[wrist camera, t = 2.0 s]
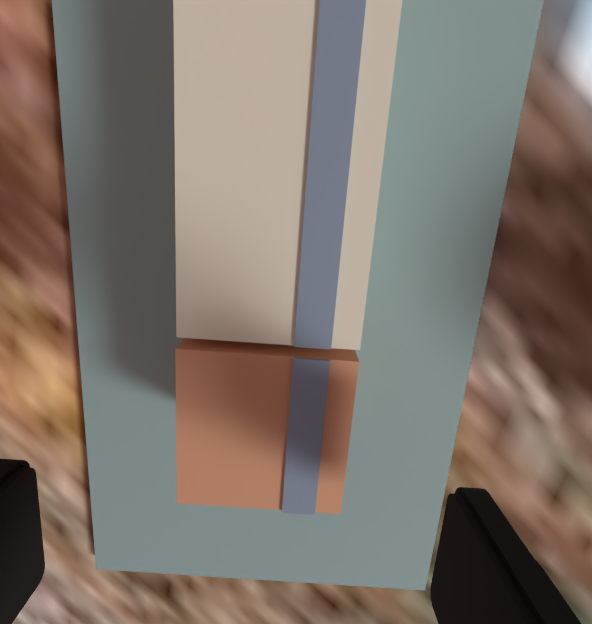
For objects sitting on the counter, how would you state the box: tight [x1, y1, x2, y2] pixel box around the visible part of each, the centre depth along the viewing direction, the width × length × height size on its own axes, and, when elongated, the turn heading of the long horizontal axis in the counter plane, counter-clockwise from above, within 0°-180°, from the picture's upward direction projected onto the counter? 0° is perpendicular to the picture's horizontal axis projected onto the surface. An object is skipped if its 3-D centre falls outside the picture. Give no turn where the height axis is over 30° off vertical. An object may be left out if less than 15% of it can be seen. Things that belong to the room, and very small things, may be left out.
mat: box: [52, 0, 544, 590], centre depth 16 cm, size 26×16×1 cm, turn 176°
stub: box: [175, 338, 359, 515], centre depth 14 cm, size 5×5×5 cm
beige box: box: [173, 0, 402, 350], centre depth 12 cm, size 12×5×5 cm, turn 176°
